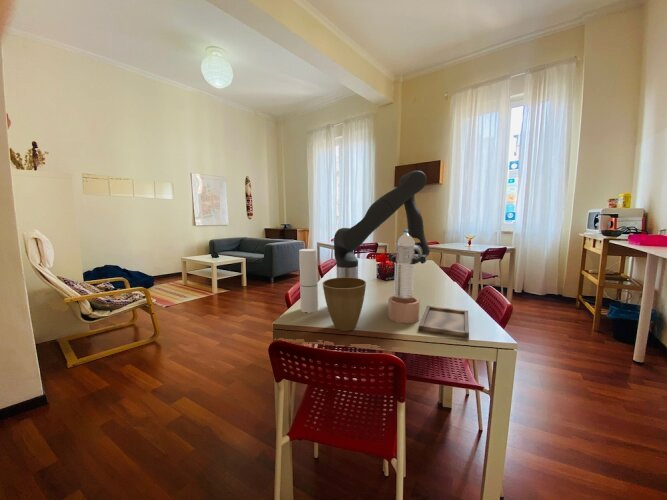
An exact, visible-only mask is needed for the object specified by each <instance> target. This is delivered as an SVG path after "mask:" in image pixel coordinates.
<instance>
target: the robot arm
mask: <svg viewBox="0 0 667 500" xmlns="http://www.w3.org/2000/svg"><path fill="white" fill-rule="evenodd" d="M426 183H427V175H426V173H424V172H423V171H422V170H412V171H410V172H408V173H406V174H403V175H402V176H401V177H400V179H399V185H398V186H397V187H395V188H394V189H392V190H390V191H388V192H387V193H385V194H383V195H381V196H380V197H379V198H378V199H377V200H376V201H374V202H373V203H372V204H371V205H370V206H369V207H368V209H367V211H366V213H365V215H364V216H363V218H362V219H361V220H359V222H357V223H356V224H355V225H353V226H352V227H342V228H341V227H340V228H339V229H337V230H336V232H335V233H334V236H333V250H334V251H333V253H334V260H335V262H336V265H335V267H336V278H343V277H349V278H358V279H359V259H358V258H357V257H356V255H355V252H354V251H355V250H356V249H359V247H361V246H362V244H363V243H364V242H365V241H366V240H367V239H368V237H370V235H371V234H372V233H373V232H374V231H375V230H377V229H378V228H379V227H380V226H381V225H382V224H384V223H385V222H386V221H387V220H388V219H389V218H390V217H391V216H393V215H394V214H395V213H396V212H397V211H398V210H399V208H401V207H402V206H404V209H405V214H406V223H407V230H408V234H409V235H410V236H411V237H412V238H413V239H417V240H419V242H415V246H414V258H413V264H414V265H416V264H419V263H420V264H425V263H426V262H427V257H428V256H429V255H430V246H429V244H428V242H427V239H426V235H425V229H424V228H425V227H424V220H423V215H422V213H421V212H420V209H419V208H418V206H417V203H416V200H415V195H416V194H417V193H419V192H421V191H422V190H423V189H424V188H425V187H426ZM395 259H396V252H390V253H388V261H389V262H391V263H392V264H395Z"/></svg>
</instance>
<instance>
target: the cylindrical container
mask: <svg viewBox="0 0 667 500" xmlns="http://www.w3.org/2000/svg"><path fill="white" fill-rule="evenodd" d="M298 251H299V252H298V256H299V258H298V260H299V261H298V263H299V287H300V289H299V290H300V292H299V294H300V312H302V313H304V312H307V313H306V314H312V313H311V312H313V313H316V312H318V311H319V287H318V285H319V284H318V283H319V282H318V281H319V280H318V249H317V248H302V249H299V250H298ZM317 310H318V311H317Z"/></svg>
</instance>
